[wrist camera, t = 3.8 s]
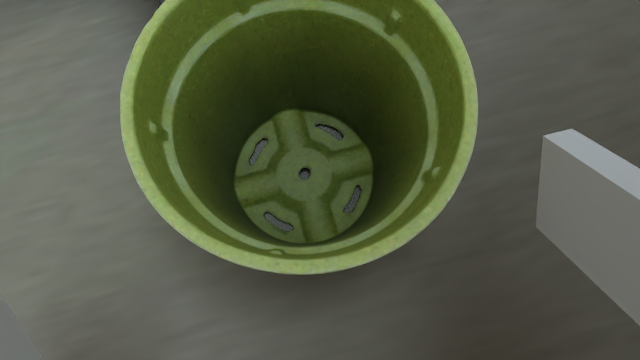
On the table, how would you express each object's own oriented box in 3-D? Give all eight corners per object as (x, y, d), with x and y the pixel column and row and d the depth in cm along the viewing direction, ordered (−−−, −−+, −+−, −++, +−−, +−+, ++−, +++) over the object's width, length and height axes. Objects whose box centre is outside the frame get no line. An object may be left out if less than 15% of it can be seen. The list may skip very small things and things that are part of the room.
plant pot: (355, 329, 19) (391, 345, 11) (154, 226, 20) (46, 169, 12) (443, 134, 22) (528, 24, 13) (258, 49, 23) (229, -104, 14)
